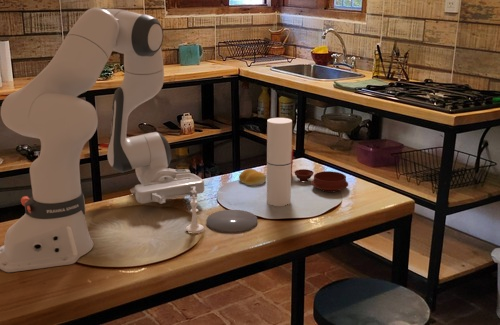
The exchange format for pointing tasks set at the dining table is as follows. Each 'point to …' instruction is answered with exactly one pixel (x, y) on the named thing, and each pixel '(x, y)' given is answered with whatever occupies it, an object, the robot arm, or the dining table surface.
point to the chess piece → (194, 218)
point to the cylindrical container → (279, 161)
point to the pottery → (324, 179)
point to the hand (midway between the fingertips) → (179, 197)
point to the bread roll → (252, 177)
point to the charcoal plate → (231, 221)
